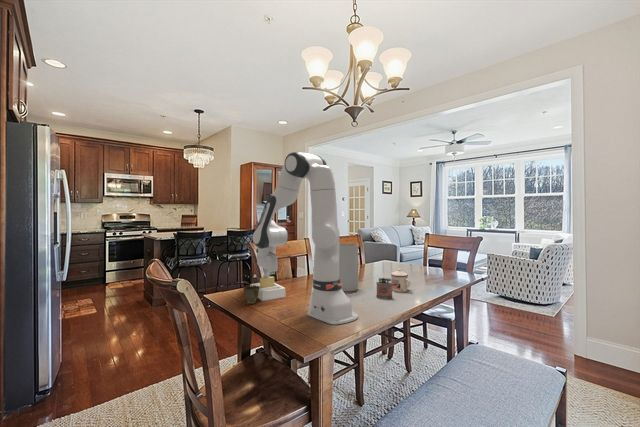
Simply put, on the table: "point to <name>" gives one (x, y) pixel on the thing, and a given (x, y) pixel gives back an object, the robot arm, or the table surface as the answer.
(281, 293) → the rack
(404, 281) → the teacup with lid
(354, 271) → the cylinder vase
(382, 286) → the lighter
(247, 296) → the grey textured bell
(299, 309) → the table surface
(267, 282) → the panel
